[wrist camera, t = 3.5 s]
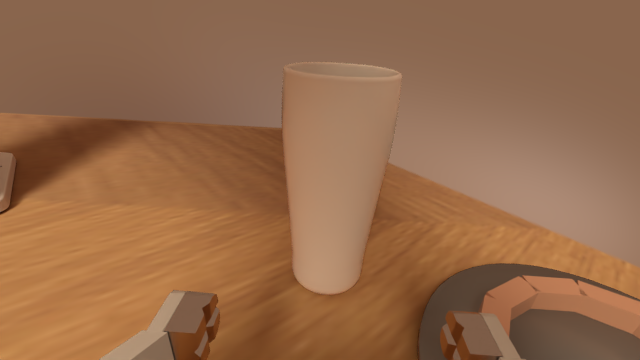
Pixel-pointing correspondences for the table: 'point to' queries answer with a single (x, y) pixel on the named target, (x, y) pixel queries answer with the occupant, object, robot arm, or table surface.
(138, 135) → the table surface
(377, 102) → the drinking glass
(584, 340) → the round tray
